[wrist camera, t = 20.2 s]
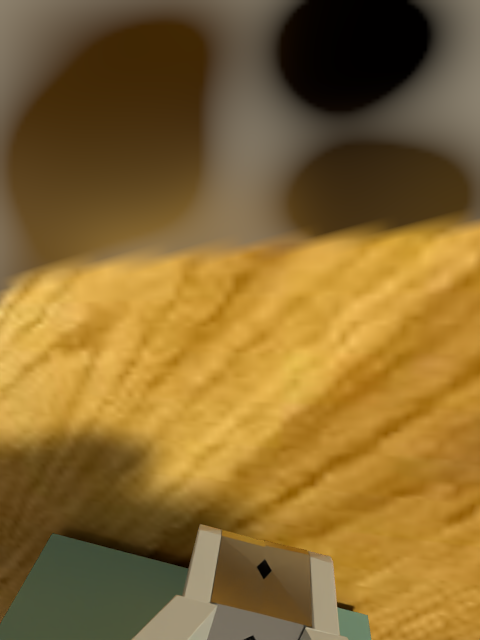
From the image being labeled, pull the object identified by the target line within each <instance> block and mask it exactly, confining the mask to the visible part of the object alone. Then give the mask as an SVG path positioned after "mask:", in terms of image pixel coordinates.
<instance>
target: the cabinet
mask: <svg viewBox="0 0 480 640" xmlns="http://www.w3.org/2000/svg"><path fill="white" fill-rule="evenodd" d="M187 572H188V568H184V567H180V566H176V565H173V564H169V563H165V562H161V561H157V560H153V559H150V558H146V557H142V556H138V555H134V554H130V553H127V552H123V551H119V550H115V549H111V548H107V547H104V546H100V545H96V544H92V543H88V542H84V541H81V540H77V539H73V538H69V537H65V536H61V535H58V534H54V533H52V535H51V537H50V538H49V540H48V542H47V544H46V545H45V547H44V549H43V551H42V552H41V554H40V556H39V557H38V559H37V561H36V563H35V564H34V566H33V568H32V570H31V571H30V573H29V575H28V577H27V578H26V580H25V582H24V583H23V585H22V587H21V589H20V590H19V592H18V594H17V596H16V597H15V599H14V601H13V603H12V604H11V606H10V608H9V609H8V611H7V613H6V615H5V616H4V618H3V620H2V622H1V623H0V640H131V639H132V638H133V637H134V636H135V635H136V634H137V633H138V632H139V631H140V630H141V629H142V628H143V627H144V626H145V625H146V624H147V623H148V622H149V621H150V620H151V619H152V618H153V617H154V616H155V615H156V614H157V613H158V612H159V611H160V610H161V609H162V608H163V607H164V606H165V605H166V604H167V603H168V602H169V601H170V600H171V599H172V598H173V597H174V596H175V595H180V596H182V593H183V589H184V584H185V580H186V576H187ZM337 611H338V621H339V631H340V635H341V636H344V637H347V638H348V640H371V635H370V628H369V621H368V615H364V614H361V613H357V612H353V611H349V610H345V609H341V608H338V607H337Z"/></svg>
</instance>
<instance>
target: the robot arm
mask: <svg viewBox="0 0 480 640" xmlns="http://www.w3.org/2000/svg"><path fill="white" fill-rule="evenodd" d="M131 640H348V638H347V637H344V636H341V635H340V631H339V621H338V611H337V600H336V590H335V579H334V569H333V561H332V559H331V557H330V556H326V555H322V554H318V553H314V552H309V551H307V550H304V549H299V548H295V547H291V546H286V545H282V544H278V543H273V542H269V541H265V540H264V541H261V540H257V539H254V538H250V537H247V536H243V535H239V534H236V533H232V532H229V531H225V530H221V529H217V528H213V527H210V526H206V525H202V524H200V526H199V529H198V532H197V536H196V540H195V544H194V548H193V552H192V556H191V560H190V564H189V568H188V572H187V576H186V580H185V584H184V589H183V593H182V596H180V595H175V596H174V597H173V598H172V599H171V600H170V601H169V602H168V603H167V604H166V605H165V606H164V607H163V608H162V609H161V610H160V611H159V612H158V613H157V614H156V615H155V616H154V617H153V618H152V619H151V620H150V621H149V622H148V623H147V624H146V625H145V626H144V627H143V628H142V629H141V630H140V631H139V632H138V633H137V634H136V635H135V636H134V637H133V638H132V639H131Z"/></svg>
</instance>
